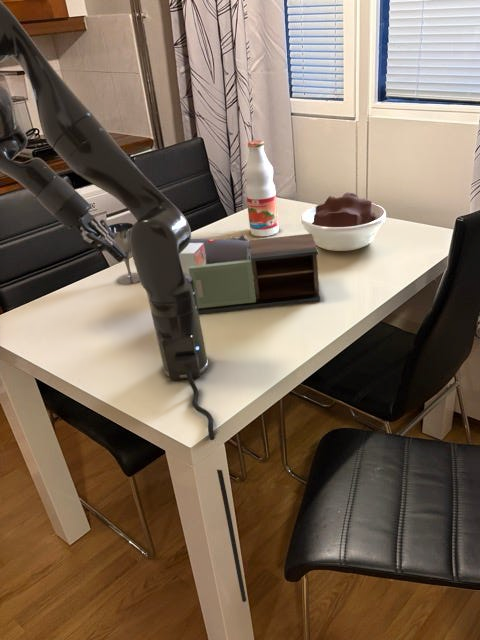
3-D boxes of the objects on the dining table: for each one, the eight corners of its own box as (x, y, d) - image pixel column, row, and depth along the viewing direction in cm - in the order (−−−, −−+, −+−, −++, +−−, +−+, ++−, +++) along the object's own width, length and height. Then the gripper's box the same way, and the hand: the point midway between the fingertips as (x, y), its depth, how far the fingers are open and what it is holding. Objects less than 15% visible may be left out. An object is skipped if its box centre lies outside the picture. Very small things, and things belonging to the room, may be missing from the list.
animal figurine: (260, 239, 177) (250, 249, 175) (264, 250, 181) (254, 260, 179) (231, 229, 183) (221, 239, 181) (235, 240, 187) (225, 250, 185)
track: (320, 301, 147) (318, 251, 140) (192, 315, 146) (183, 265, 139) (319, 296, 149) (316, 247, 142) (193, 310, 148) (184, 261, 141)
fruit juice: (284, 228, 195) (276, 138, 179) (270, 238, 188) (261, 145, 172) (259, 226, 199) (250, 138, 183) (245, 235, 192) (234, 145, 176)
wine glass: (111, 282, 167) (97, 231, 159) (129, 271, 173) (117, 221, 165) (132, 286, 164) (120, 233, 156) (150, 275, 170) (139, 224, 162)
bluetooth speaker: (256, 233, 165) (244, 246, 157) (260, 265, 170) (248, 279, 162) (183, 231, 171) (167, 244, 163) (188, 262, 176) (173, 275, 168)
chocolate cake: (294, 260, 171) (290, 208, 163) (311, 230, 191) (309, 183, 183) (381, 261, 165) (381, 208, 157) (389, 230, 185) (390, 181, 177)
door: (256, 303, 146) (251, 262, 140) (195, 309, 145) (188, 269, 140) (255, 299, 148) (251, 259, 142) (196, 306, 147) (188, 266, 141)
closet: (319, 296, 149) (316, 247, 142) (256, 303, 149) (250, 254, 142) (314, 280, 158) (311, 233, 150) (254, 287, 157) (249, 240, 150)
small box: (200, 291, 158) (194, 253, 152) (181, 290, 159) (173, 253, 153) (210, 278, 164) (204, 242, 158) (191, 278, 165) (184, 242, 160)
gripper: (63, 206, 139) (119, 260, 145) (43, 221, 127) (105, 278, 134) (83, 184, 136) (139, 240, 143) (64, 197, 125) (127, 257, 131)
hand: (123, 258), depth 138 cm, fingers closed
